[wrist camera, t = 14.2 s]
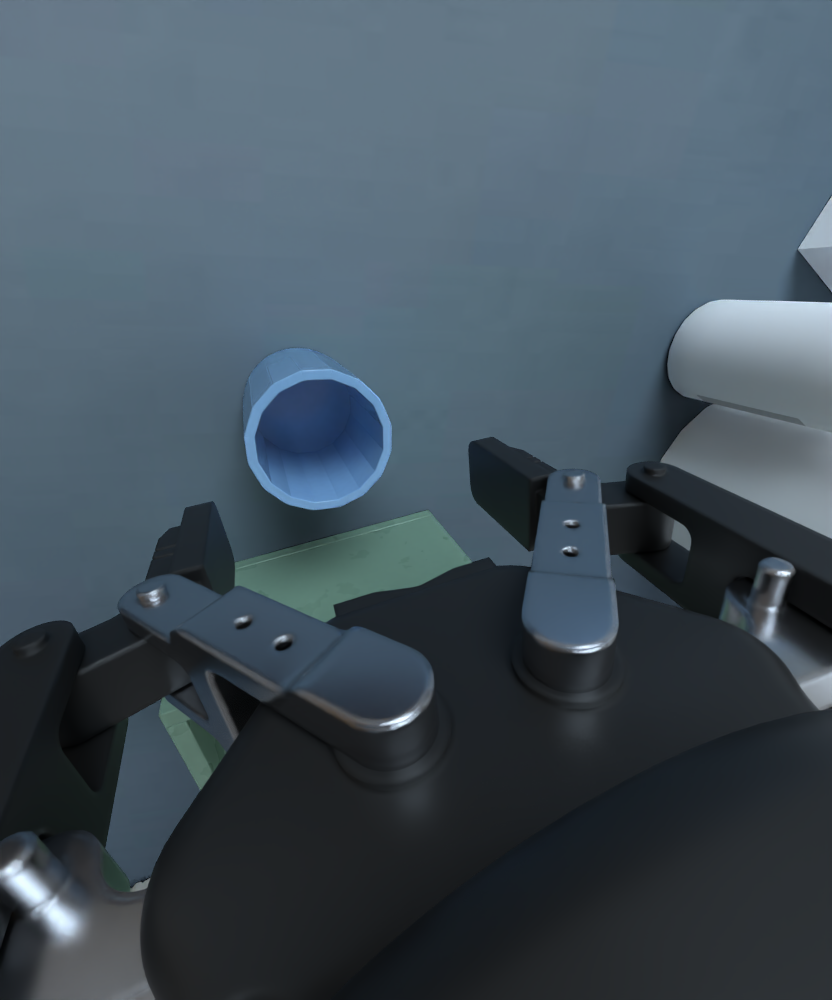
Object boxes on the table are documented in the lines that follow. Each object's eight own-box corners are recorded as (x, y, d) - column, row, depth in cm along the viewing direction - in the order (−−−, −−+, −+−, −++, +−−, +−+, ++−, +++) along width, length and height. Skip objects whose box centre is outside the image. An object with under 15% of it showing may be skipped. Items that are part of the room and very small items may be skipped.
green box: (244, 716, 33) (246, 874, 24) (183, 575, 27) (157, 716, 18) (443, 645, 37) (508, 759, 28) (428, 509, 31) (503, 598, 22)
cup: (230, 438, 25) (227, 491, 18) (261, 329, 23) (270, 345, 17) (334, 467, 27) (364, 522, 21) (368, 371, 26) (412, 399, 19)
